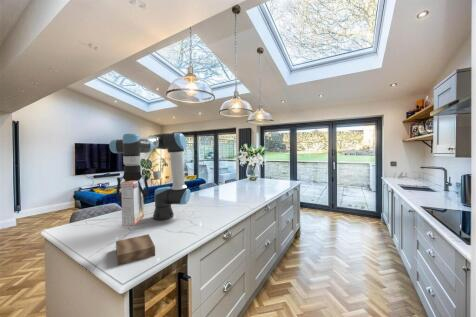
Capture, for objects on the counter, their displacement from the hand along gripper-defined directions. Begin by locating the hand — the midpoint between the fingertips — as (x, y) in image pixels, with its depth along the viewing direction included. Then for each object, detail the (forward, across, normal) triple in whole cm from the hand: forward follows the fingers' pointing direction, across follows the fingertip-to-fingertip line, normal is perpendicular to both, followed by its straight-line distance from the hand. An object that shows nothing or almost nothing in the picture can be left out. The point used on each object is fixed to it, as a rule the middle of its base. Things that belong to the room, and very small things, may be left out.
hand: (133, 210), depth 105 cm
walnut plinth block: (+22, 0, 0) cm, 22 cm away
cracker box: (+6, 0, 0) cm, 6 cm away
